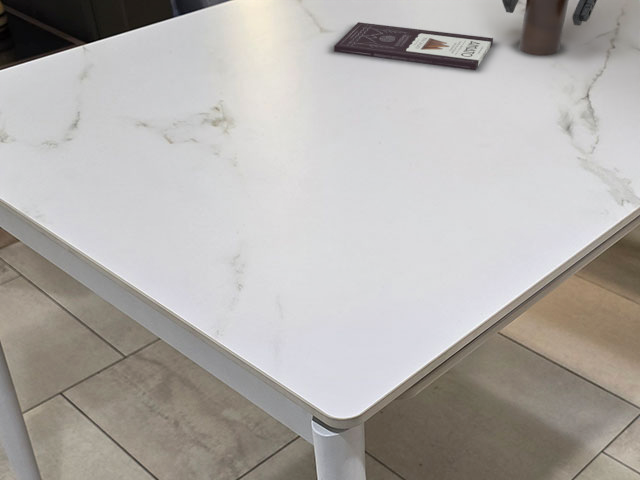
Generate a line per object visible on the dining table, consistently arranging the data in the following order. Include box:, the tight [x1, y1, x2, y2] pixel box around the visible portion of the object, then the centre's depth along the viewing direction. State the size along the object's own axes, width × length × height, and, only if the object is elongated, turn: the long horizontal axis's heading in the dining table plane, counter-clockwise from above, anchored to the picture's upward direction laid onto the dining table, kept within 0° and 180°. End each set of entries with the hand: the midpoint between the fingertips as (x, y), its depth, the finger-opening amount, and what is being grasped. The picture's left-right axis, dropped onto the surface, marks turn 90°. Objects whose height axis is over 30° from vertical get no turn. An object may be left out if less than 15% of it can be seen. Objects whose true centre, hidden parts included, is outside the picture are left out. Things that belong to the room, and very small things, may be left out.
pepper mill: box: [518, 0, 569, 57], centre depth 104 cm, size 5×5×10 cm
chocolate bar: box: [333, 21, 494, 71], centre depth 108 cm, size 9×1×18 cm
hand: (541, 15), depth 103 cm, fingers open, 8 cm apart
